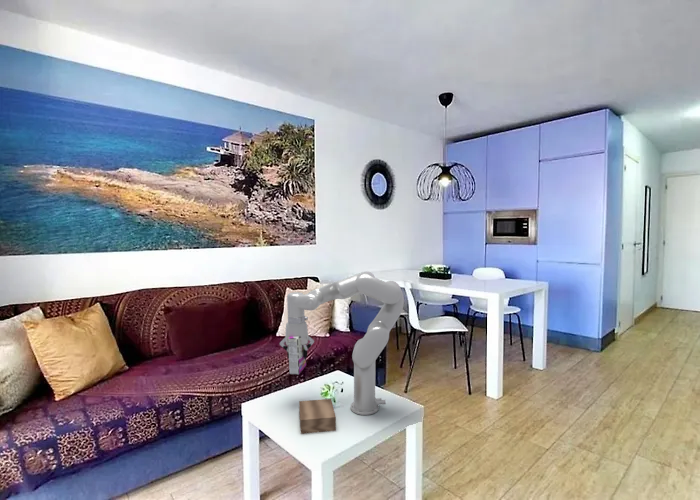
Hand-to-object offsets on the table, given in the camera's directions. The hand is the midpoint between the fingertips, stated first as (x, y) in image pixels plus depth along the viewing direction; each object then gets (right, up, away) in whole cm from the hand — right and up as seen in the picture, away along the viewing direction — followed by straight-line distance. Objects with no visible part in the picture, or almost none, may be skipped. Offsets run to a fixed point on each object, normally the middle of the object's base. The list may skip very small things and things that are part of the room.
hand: (297, 358), depth 169 cm
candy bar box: (0, -5, 0) cm, 5 cm away
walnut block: (+10, -23, -13) cm, 28 cm away
